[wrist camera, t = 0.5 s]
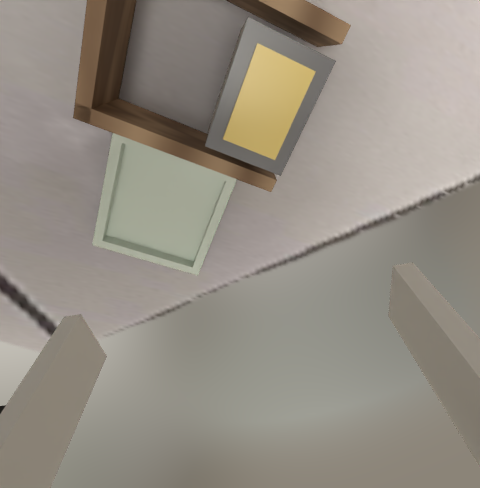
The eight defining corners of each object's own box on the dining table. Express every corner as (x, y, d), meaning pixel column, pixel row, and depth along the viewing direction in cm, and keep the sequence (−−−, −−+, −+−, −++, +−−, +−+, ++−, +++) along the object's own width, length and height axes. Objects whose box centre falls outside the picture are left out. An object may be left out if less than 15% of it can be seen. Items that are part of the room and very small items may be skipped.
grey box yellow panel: (211, 119, 31) (204, 147, 21) (240, 30, 27) (248, 15, 18) (264, 141, 32) (281, 177, 23) (300, 59, 29) (337, 61, 19)
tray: (97, 237, 38) (92, 245, 36) (118, 125, 31) (113, 129, 29) (198, 267, 41) (197, 275, 39) (237, 171, 34) (238, 176, 32)
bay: (103, 105, 30) (73, 117, 24) (132, -69, 24) (100, -112, 18) (263, 168, 34) (271, 192, 28) (323, 32, 28) (350, 25, 22)
